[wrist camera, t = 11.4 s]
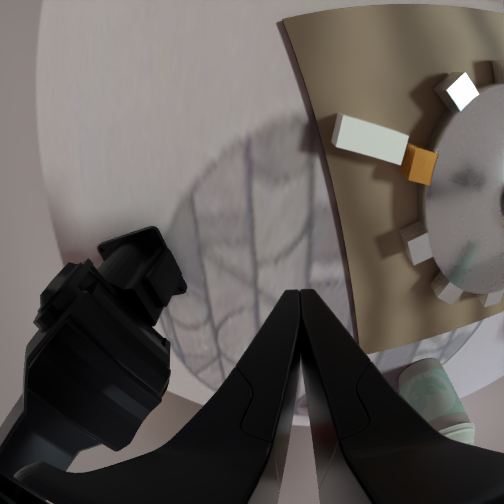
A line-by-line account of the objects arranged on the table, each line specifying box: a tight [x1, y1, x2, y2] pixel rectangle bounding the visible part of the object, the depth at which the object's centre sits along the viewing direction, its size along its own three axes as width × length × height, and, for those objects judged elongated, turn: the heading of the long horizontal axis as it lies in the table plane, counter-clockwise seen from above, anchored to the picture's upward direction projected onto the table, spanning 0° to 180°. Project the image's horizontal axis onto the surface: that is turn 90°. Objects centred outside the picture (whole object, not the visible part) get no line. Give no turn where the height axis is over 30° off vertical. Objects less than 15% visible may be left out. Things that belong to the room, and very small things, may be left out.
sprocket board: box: [282, 4, 504, 354], centre depth 18 cm, size 30×30×1 cm
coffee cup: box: [398, 358, 475, 445], centre depth 25 cm, size 8×8×12 cm
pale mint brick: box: [331, 113, 409, 165], centre depth 17 cm, size 4×2×2 cm, turn 81°
